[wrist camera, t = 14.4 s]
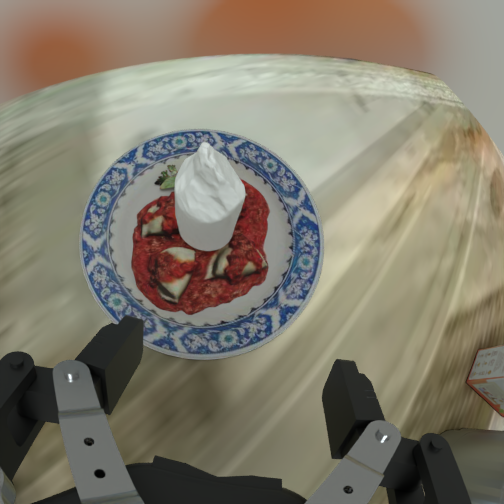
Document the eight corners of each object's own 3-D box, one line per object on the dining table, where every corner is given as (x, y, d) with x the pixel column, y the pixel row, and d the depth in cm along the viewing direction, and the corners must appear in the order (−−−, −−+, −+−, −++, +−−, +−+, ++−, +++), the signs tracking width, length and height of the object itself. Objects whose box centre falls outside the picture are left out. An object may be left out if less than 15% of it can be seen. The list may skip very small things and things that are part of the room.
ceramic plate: (337, 337, 33) (350, 335, 30) (91, 369, 27) (82, 370, 24) (290, 139, 41) (297, 125, 38) (92, 148, 34) (87, 133, 32)
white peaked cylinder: (277, 166, 20) (205, 206, 18) (245, 233, 31) (197, 264, 30) (225, 107, 21) (156, 138, 19) (210, 188, 32) (163, 215, 30)
